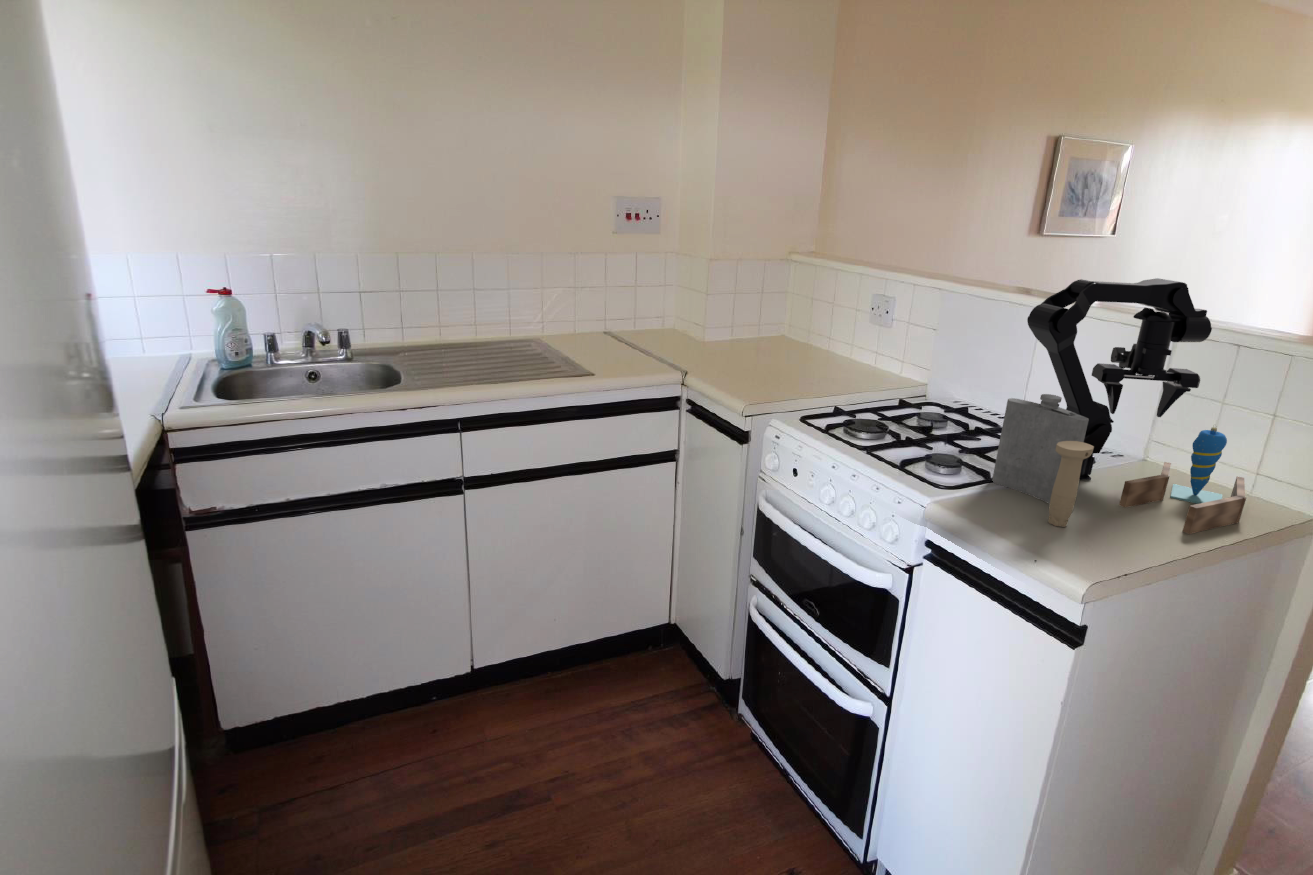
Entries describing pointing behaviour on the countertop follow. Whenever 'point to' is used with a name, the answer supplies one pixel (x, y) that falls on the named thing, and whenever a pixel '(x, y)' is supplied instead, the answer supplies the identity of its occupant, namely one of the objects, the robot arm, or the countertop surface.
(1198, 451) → the ornament
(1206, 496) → the pad
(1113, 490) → the countertop surface
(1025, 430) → the hip flask
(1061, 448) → the handle
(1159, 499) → the channel
